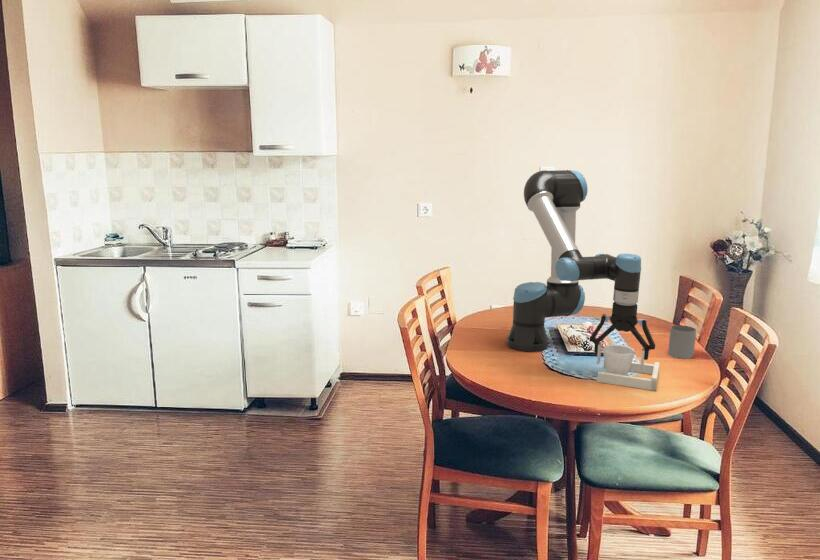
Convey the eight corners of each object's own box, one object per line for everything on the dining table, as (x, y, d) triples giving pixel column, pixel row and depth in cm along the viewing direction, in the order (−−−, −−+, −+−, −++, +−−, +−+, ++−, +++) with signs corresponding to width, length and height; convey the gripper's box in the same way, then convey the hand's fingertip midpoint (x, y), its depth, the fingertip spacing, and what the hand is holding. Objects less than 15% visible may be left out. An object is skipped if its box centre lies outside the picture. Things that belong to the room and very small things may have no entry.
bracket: (597, 381, 205) (598, 370, 204) (604, 366, 220) (604, 355, 219) (655, 390, 199) (656, 378, 198) (658, 373, 213) (659, 362, 212)
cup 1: (594, 373, 213) (596, 346, 211) (618, 369, 217) (620, 343, 215) (614, 383, 204) (617, 356, 202) (639, 379, 208) (641, 352, 206)
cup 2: (695, 359, 227) (698, 332, 225) (670, 358, 229) (673, 331, 226) (690, 352, 235) (693, 325, 233) (666, 350, 237) (669, 324, 235)
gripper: (583, 301, 206) (579, 363, 211) (666, 309, 197) (660, 375, 201) (587, 295, 213) (582, 356, 218) (667, 304, 203) (661, 367, 208)
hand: (619, 365), depth 209 cm, fingers open, 13 cm apart
